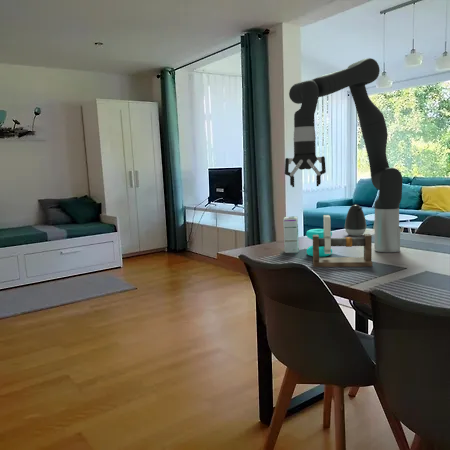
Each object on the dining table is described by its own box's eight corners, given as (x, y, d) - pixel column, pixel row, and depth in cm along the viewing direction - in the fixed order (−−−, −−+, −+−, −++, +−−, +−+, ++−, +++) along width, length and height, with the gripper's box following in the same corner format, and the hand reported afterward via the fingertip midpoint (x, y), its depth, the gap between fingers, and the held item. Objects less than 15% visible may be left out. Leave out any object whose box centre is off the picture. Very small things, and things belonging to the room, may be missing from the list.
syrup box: (298, 252, 178) (297, 217, 176) (283, 252, 179) (283, 218, 177) (298, 250, 183) (298, 216, 181) (284, 250, 184) (284, 216, 182)
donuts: (332, 228, 174) (331, 232, 165) (332, 252, 176) (331, 257, 166) (307, 228, 177) (305, 232, 168) (307, 252, 178) (305, 257, 169)
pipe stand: (368, 261, 158) (368, 232, 156) (372, 266, 150) (372, 236, 149) (312, 261, 161) (312, 233, 160) (313, 266, 153) (313, 237, 152)
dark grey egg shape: (351, 237, 207) (351, 206, 205) (341, 234, 217) (340, 204, 215) (370, 235, 209) (370, 204, 207) (359, 232, 219) (359, 203, 217)
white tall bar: (329, 249, 159) (329, 214, 157) (330, 253, 152) (330, 217, 150) (323, 249, 159) (323, 214, 158) (325, 253, 152) (324, 217, 151)
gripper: (324, 140, 154) (325, 185, 157) (284, 142, 157) (285, 186, 159) (325, 138, 147) (326, 186, 149) (283, 141, 150) (284, 187, 152)
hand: (305, 186), depth 154 cm, fingers open, 8 cm apart
